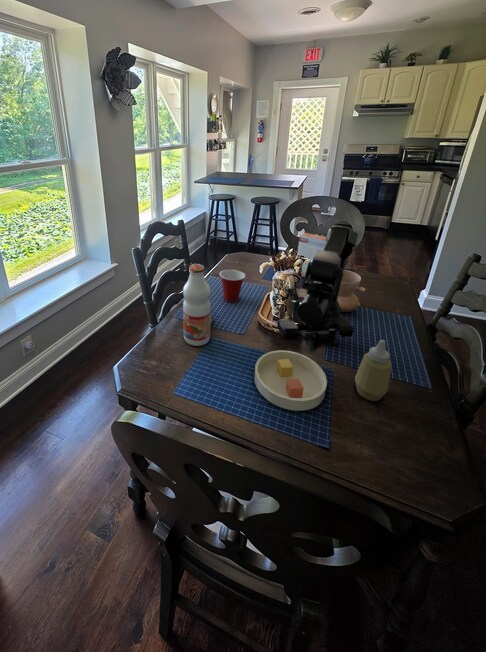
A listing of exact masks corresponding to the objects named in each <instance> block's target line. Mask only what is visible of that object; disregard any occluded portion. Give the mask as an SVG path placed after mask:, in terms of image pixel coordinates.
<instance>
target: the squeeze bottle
mask: <svg viewBox="0 0 486 652" xmlns="http://www.w3.org/2000/svg"><path fill="white" fill-rule="evenodd" d="M392 365H393V364H392V362H391V360H390V353H389V351H388V350H386V341H385V339H380V340H379V341H378V342H377V344H376V346H372V347H370V348H369V351H368V352H366V353H364V355H363V357H362V359H361V362H360V364H359V366H358V370H357V372H356V373H355V376H354V379H355V380H354V381H355V386H356V391H357V393H358V395H360V397H362V398H364V399H366V400H367V401H371V402H378V401H380V400H381V399H382V398H383V397H384V396H385V395H386V394H387V392H388V390H389V385H390V380H391V371H392Z"/></svg>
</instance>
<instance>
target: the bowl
mask: <svg viewBox="0 0 486 652" xmlns="http://www.w3.org/2000/svg"><path fill="white" fill-rule="evenodd" d="M281 359H289V360H290V362H291V364H292V366H293V372H292V376H288V377H280V375H279V372H278V370H277V363H278V360H281ZM253 379H254V380H253V381H254V384H255V387H256V389H257V390H258V392H259V393H260V394H261V396H262V397H263V398H264V399H265V400H267V401H268V402H270V403H271V404H273V405H275V406H277V407H279V408H282V409H284V410H288V411H296V412H297V411H298V412H299V411H301V412H302V411H309V410H312V409H314V408H316V407H317V406H319V405H320V404H321V403H322V402H323V400H324V399H325V396H326V390H327V387H328V386H327V385H328V379H327V375H326V373H325V372H324V370H323V368H322V367H321V366H320V365H319V364H318V363H317V362H316V361H315V360H313V359H311V358H310V357H308V356H307V355H304V354H301V353H299V352H295V351H291V350H280V349H279V350H272V351H269V352H267V353H264V354H262V355H261V356H260V357H259V358H258V359H257V360H256V363H255V366H254V378H253ZM287 379H299V380H300V382H301V384H302V386H303V388H304V389H303V395H302V398H290V397H289V396H288V393H287V391H286V381H287Z"/></svg>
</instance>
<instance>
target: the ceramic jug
mask: <svg viewBox="0 0 486 652" xmlns="http://www.w3.org/2000/svg"><path fill="white" fill-rule="evenodd" d="M343 273H344V275H343V278H342V282H341V286H340V290H339V295H338V300H337V301H338V303H339V305H340V307H341V311H340V313H350V312H353V311H355V310H357V309H358V308H360V307H361V302H360V299H359V298H358V296H357V295H355V293H354V292H357V291H359V292H360V291H361V292H362V293H364V292H365V291H366V288H365V287H363V286H359V285H360V284H361V281H362V277H361V275H359V274H358V273H356V272H354V271H351V270H347V269H344V271H343Z"/></svg>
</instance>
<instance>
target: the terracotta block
mask: <svg viewBox="0 0 486 652" xmlns="http://www.w3.org/2000/svg"><path fill="white" fill-rule="evenodd" d="M303 389H304V388H303V386H302V384H301V382H300V380H299V379H287V381H286V391H287V393H288V396H289V397H290V398H302V395H303Z"/></svg>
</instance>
